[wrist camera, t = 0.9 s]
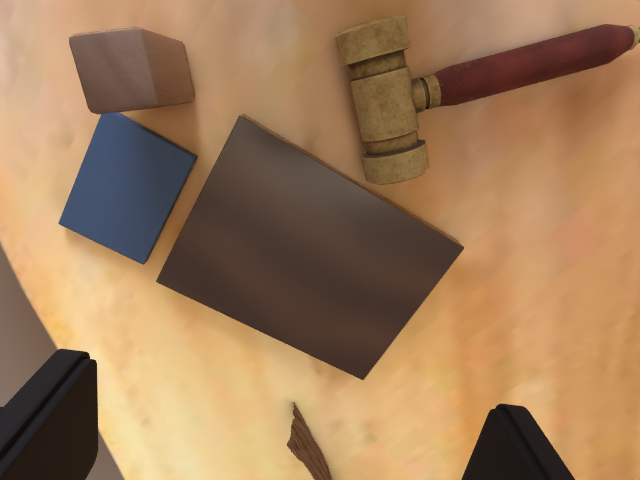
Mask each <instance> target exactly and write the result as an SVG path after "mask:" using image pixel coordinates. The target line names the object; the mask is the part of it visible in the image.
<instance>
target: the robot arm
mask: <svg viewBox="0 0 640 480" xmlns="http://www.w3.org/2000/svg"><path fill="white" fill-rule="evenodd" d="M97 453H98V402H97V362H96V360H93V359H90V355H89V353H88V352H83V351H75V350H67V349H59V350H57V351H56V352H55V353H54V354H53V355H52V356H51V357H50V358H49V359H48V360H47V361H46V363H44V365H43V366H42V367H41V368H40V369H39V370H38V371H37V372H36V373H35V374H34V375H33V376H32V377H31V379H29V381H28V382H27V383H26V384H25V385H24V386H23V387H22V388H21V389H20V390H19V391H18V392H17V393H16V394H15V395H14V397H13V398H12V399H11V400H10V401H9V402H8V403H7V404H6V405H5V406H4V407H0V480H85V479H86V478H87V476H88V474H89V472H90V470H91V469H92V467H93V464H94V463H95V460H96V457H97ZM462 480H575V479H574V477H573V476H572V474H571V473H570V471H569V470H568V468H567V467H566V466H565V464H564V463H563V461H562V460H561V458H560V457H559V455H558V454H557V452H556V451H555V449H554V448H553V446H552V445H551V443H550V442H549V440H548V439H547V437H546V436H545V434H544V433H543V431H542V430H541V428H540V427H539V425H538V424H537V423H536V421H535V420H534V418H533V417H532V415H531V414H530V412H529V411H528V410H527V409H526V408H525V407H523V406H516V405H508V404H499V405H497V406H496V408H495V409H492V410H490V412H489V414H488V416H487V418H486V421H485V423H484V426H483V428H482V431H481V433H480V436H479V438H478V440H477V443H476V445H475V448H474V450H473V453H472V455H471V458H470V460H469V463H468V465H467V467H466V470H465V472H464V475H463V477H462Z"/></svg>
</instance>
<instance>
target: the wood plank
mask: <svg viewBox="0 0 640 480" xmlns="http://www.w3.org/2000/svg"><path fill="white" fill-rule="evenodd" d="M293 415H294V416H295V419H293V421H292V426H291V437H290V440H289V441H288V443H287V446H288V447H289V449H290V450H291V452H293V454H294V455H295V456H296V457H297V459H299V460H300V461H302V462H303V463H304V464H305V466H306V467H307V468H308V470H309V471H310V473H311V475H312V476H313V478H314V479H315V480H332V479H331V476H330V472H329V469H328V466H327V464H326V461H325V459H324V456H323V454H322V452H321V450H320V449H319V447H318V445H317V444H316V442H315V441H314V439H313V437H312V435H311V433H310V431H309V428H308V427H307V425H306V423H305V421H304V419H303V417H302V415H301V414H300V412H299V410H298V408H297V407H296V405H295V403H294V410H293Z"/></svg>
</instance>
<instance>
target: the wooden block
mask: <svg viewBox="0 0 640 480" xmlns="http://www.w3.org/2000/svg"><path fill="white" fill-rule="evenodd" d="M69 44H70V47H71V51H72V54H73V57H74V61H75V64H76V68H77V71H78V75H79V78H80V81H81V85H82V88H83V92H84V95H85V98H86V102H87V105H88V108H89V110H90V111H91V112H92V113H95V114H106V113H114V112H123V111H132V110H141V109H150V108H158V107H164V106H170V105H176V104H182V103H189V102H192V101H193V100H194V97H195V94H194V89H193V84H192V80H191V75H190V70H189V65H188V60H187V55H186V50H185V46H184V44H183V43H182V42H181V41H178V40H175V39H172V38H169V37H166V36H163V35H160V34H156V33H153V32H150V31H147V30H144V29H141V28H138V27H132V28H123V29H114V30H105V31H97V32H88V33H79V34H74V35H73V36H71V37H70V38H69Z"/></svg>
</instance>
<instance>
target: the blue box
mask: <svg viewBox="0 0 640 480" xmlns="http://www.w3.org/2000/svg"><path fill="white" fill-rule="evenodd" d="M196 159H197V156H196V155H194V154H192V153H190V152H189V151H187V150H185V149H183V148H181V147H180V146H178V145H176V144H174V143H172V142H171V141H169V140H167V139H165V138H163V137H162V136H160V135H158V134H156V133H154V132H153V131H151V130H149V129H147V128H145V127H143V126H142V125H140V124H138V123H136V122H134V121H133V120H131V119H129V118H127V117H125V116H124V115H122V114H120V113H118V112H114V113H106V114H101V117H100V119H99V122H98V125H97V127H96V130H95V132H94V135H93V137H92V140H91V142H90V145H89V147H88V150H87V152H86V155H85V158H84V160H83V163H82V165H81V168H80V170H79V173H78V175H77V178H76V180H75V183H74V185H73V188H72V191H71V193H70V196H69V198H68V201H67V203H66V206H65V208H64V211H63V213H62V216H61V218H60V221H59V224H60V225H62V226H64V227H66V228H68V229H70V230H72V231H74V232H76V233H79V234H81V235H83V236H85V237H87V238H89V239H91V240H93V241H95V242H97V243H99V244H101V245H103V246H106V247H108V248H110V249H112V250H114V251H116V252H118V253H120V254H122V255H124V256H126V257H128V258H131V259H133V260H135V261H137V262H139V263H141V264H145V262H146V261H147V260H148V258H149V256H150V254H151V252H152V250H153V247H154V245H155V243H156V241H157V239H158V237H159V235H160V233H161V231H162V229H163V227H164V225H165V223H166V221H167V219H168V217H169V215H170V213H171V211H172V209H173V206H174V204H175V202H176V200H177V198H178V196H179V194H180V192H181V190H182V188H183V186H184V184H185V182H186V180H187V178H188V176H189V174H190V172H191V170H192V167H193V165H194V163H195V161H196Z"/></svg>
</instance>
